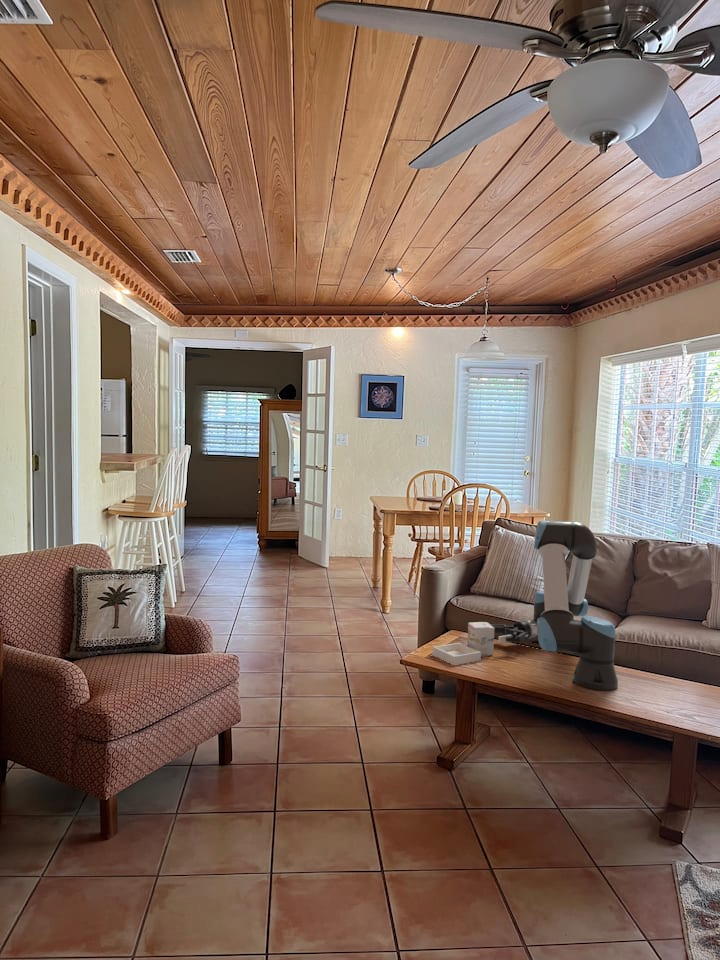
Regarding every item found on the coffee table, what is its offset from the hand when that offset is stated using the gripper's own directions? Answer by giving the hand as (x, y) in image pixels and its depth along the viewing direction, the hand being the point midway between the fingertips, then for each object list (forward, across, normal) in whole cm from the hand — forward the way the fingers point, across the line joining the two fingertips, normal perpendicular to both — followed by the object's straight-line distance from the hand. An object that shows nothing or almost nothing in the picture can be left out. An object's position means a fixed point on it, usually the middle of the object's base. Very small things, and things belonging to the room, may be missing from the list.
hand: (487, 635), depth 270 cm
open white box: (+18, -2, -6) cm, 19 cm away
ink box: (+4, -1, -7) cm, 8 cm away
